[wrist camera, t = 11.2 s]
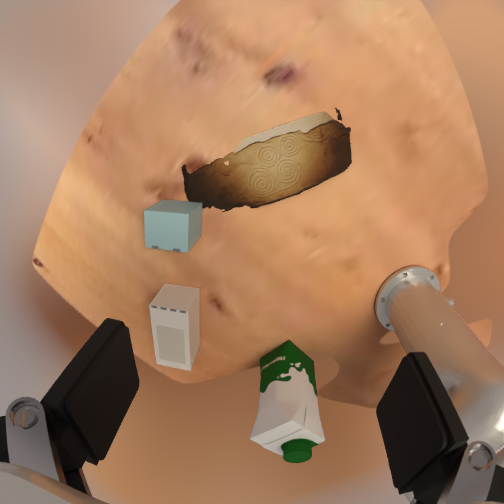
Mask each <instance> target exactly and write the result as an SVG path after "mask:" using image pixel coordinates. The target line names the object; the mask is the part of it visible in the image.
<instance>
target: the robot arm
mask: <svg viewBox="0 0 504 504" xmlns="http://www.w3.org/2000/svg"><path fill="white" fill-rule="evenodd" d="M440 291H441V289H440V283H439V280H438V278H437V277H436V275H435V274H434V273H433V272H432V271H431V270H429V269H428V268H426V267H423V266H417V265H415V266H408V267H405V268H402V269H400V270H398V271H397V272H395V273H394V274H392V275H391V276H390V277H389V278H388V279H387V280H386V281H385V283H384V284H383V285H382V287H381V288H380V290H379V292H378V295H377V298H376V303H375V311H376V315H377V318H378V320H379V322H380V323H381V324H382V326H384V327H385V328H386V329H388V330H390V331H394V332H396V334H397V336H398V338H399V340H400V342H401V344H402V346H403V348H404V350H405V352H406V354H407V356H405V357H403V359H402V361H401V363H400V365H399V367H398V369H397V371H396V373H395V375H394V377H393V379H392V380H391V382H390V384H389V386H388V388H387V390H386V391H385V393H384V395H383V397H382V399H381V400H380V402H379V404H378V406H377V410H376V414H377V418H378V422H379V425H380V429H381V433H382V437H383V441H384V445H385V449H386V453H387V457H388V462H389V467H390V470H391V474H392V479H393V484H394V486H395V488H398V491H399V494H404V495H405V496H406V497H407V499H408V500H409V502H410V504H504V448H503V449H502V450H501V451H499V452H498V453H497V454H495V451H496V450H497V449H498V448H500V447H501V446H502V445H504V366H503V365H502V364H501V363H500V362H499V361H498V360H497V359H496V358H495V357H494V356H493V355H492V354H491V353H490V352H489V350H488V349H487V348H486V347H485V346H484V344H483V343H482V342H481V341H480V340H479V339H478V337H477V336H476V335H475V334H474V332H473V331H472V330H471V329H470V328H469V326H468V325H467V324H466V323H465V322H464V320H463V319H462V318H461V317H460V316H459V315H458V313H457V312H456V311H455V310H454V309H453V308H452V306H453V305H454V300H453V299H448V298H447V299H446V298H445V297H444V296H443V295H442V294H441V292H440ZM138 388H139V377H138V373H137V368H136V364H135V360H134V354H133V349H132V344H131V338H130V333H129V328H128V327H126V326H125V324H124V322H122V321H119V320H115V319H110V318H107V319H105V320H104V322H103V323H102V324H101V325H100V326H99V328H98V329H97V330H96V331H95V333H94V334H93V335H92V336H91V337H90V338H89V340H88V341H87V342H86V343H85V345H84V346H83V347H82V348H81V349H80V351H79V352H78V353H77V355H76V356H75V357H74V358H73V360H72V361H71V362H70V363H69V364H68V366H67V367H66V369H65V370H64V371H63V372H62V373H61V375H60V376H59V378H58V379H57V380H56V381H55V383H54V384H53V385H52V387H51V388H50V389H49V391H48V392H47V393H46V395H45V396H44V398H43V399H42V400H41V402H39V401H38V400H36V399H34V398H31V397H21V398H19V399H16V400H15V401H13V402H12V403H11V404H10V405H9V406H8V409H7V411H6V416H1V417H0V504H108V503H105V502H103V501H101V500H98V499H96V498H93V497H92V494H91V492H90V489H89V487H88V484H87V481H86V479H85V476H84V473H83V470H82V466H83V464H84V462H85V461H87V462H89V463H92V464H94V465H97V464H98V462H99V460H103V459H104V458H105V457H106V455H107V452H108V450H109V448H110V446H111V444H112V442H113V440H114V438H115V436H116V433H117V431H118V429H119V427H120V425H121V423H122V421H123V419H124V417H125V415H126V413H127V411H128V409H129V407H130V405H131V403H132V400H133V399H134V397H135V394H136V393H137V390H138Z"/></svg>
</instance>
